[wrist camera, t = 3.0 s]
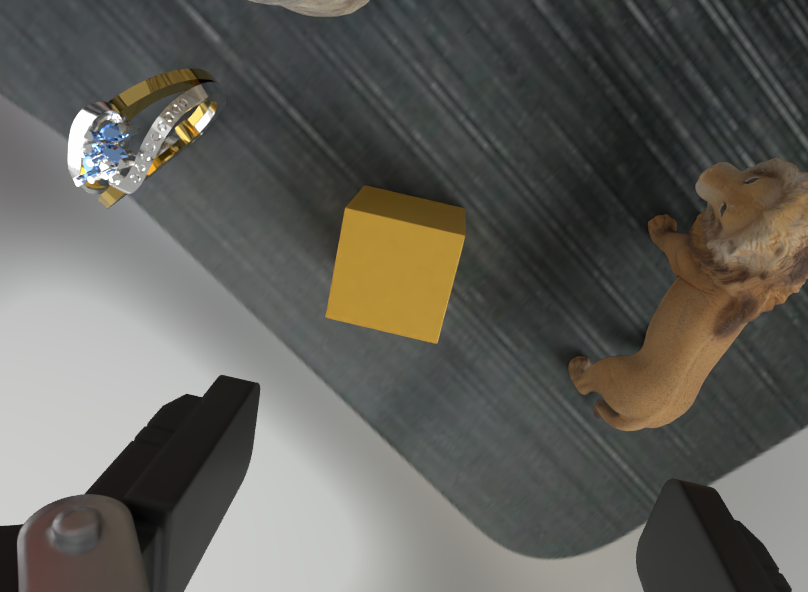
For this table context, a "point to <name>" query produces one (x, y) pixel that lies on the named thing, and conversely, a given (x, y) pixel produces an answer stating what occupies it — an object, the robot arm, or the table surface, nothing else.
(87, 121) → the ring
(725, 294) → the lion figurine
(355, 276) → the block
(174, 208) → the table surface
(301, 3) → the carving
